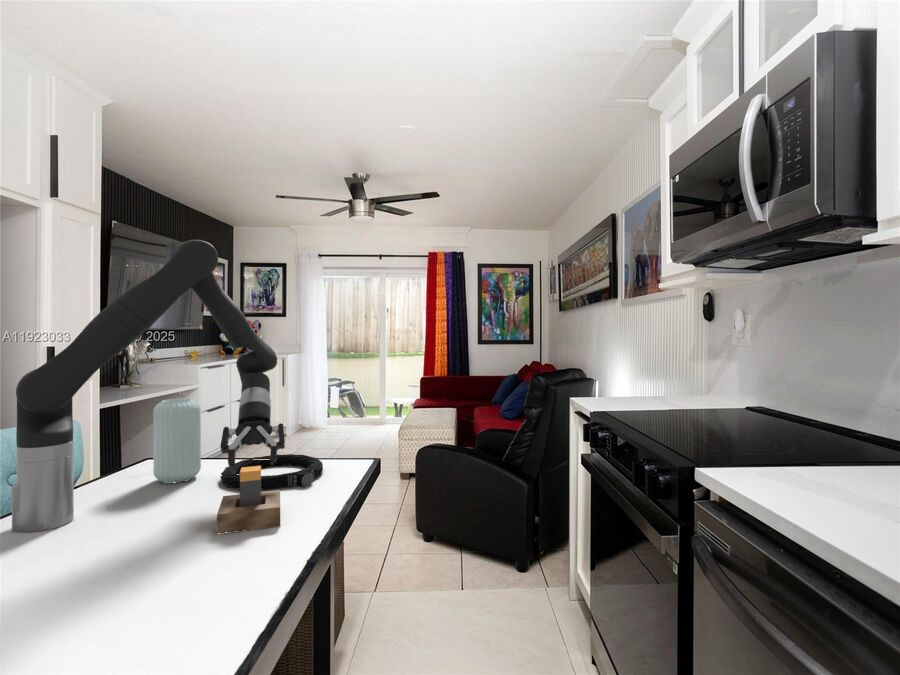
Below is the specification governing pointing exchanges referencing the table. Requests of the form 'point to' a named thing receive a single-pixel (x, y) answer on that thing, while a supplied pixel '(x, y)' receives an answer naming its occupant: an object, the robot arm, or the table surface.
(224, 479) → the cable lock
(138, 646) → the table surface
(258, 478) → the connector plug
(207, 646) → the table surface
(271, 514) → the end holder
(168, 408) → the vase
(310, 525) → the table surface
